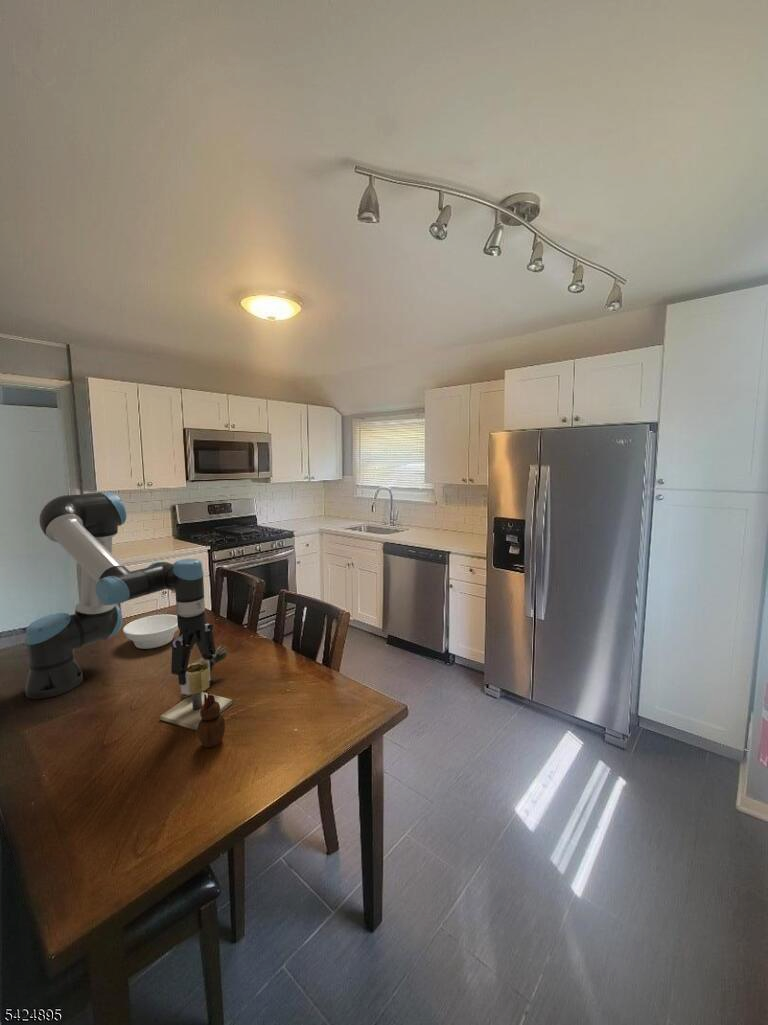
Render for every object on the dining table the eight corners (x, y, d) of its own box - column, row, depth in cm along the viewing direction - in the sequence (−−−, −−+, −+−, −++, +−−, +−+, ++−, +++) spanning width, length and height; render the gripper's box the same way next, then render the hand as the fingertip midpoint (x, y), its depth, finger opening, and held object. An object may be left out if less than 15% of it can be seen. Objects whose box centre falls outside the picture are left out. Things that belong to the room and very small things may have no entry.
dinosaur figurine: (187, 710, 127) (185, 675, 126) (163, 706, 129) (161, 671, 128) (229, 673, 148) (228, 643, 147) (208, 670, 150) (207, 641, 149)
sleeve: (177, 691, 123) (176, 671, 122) (196, 679, 129) (195, 660, 129) (196, 695, 120) (195, 676, 119) (214, 683, 127) (213, 664, 126)
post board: (160, 719, 122) (157, 679, 120) (197, 694, 135) (195, 657, 133) (198, 730, 117) (195, 688, 115) (232, 703, 130) (230, 665, 128)
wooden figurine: (207, 754, 108) (204, 700, 106) (194, 746, 111) (190, 693, 109) (230, 739, 113) (227, 687, 111) (216, 732, 116) (213, 681, 114)
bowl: (166, 654, 162) (164, 634, 161) (112, 654, 162) (110, 634, 161) (191, 632, 183) (190, 614, 182) (143, 632, 183) (142, 614, 182)
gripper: (172, 627, 111) (178, 707, 114) (226, 602, 130) (229, 672, 133) (151, 623, 114) (158, 702, 117) (206, 600, 132) (211, 668, 135)
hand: (196, 686), depth 125 cm, fingers closed on sleeve, 7 cm apart
